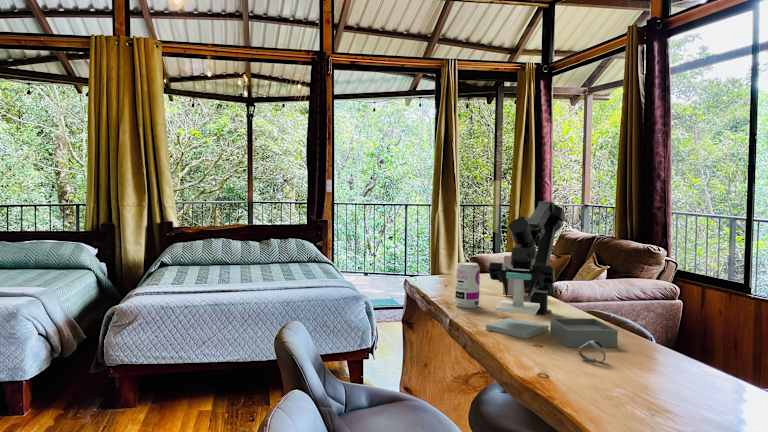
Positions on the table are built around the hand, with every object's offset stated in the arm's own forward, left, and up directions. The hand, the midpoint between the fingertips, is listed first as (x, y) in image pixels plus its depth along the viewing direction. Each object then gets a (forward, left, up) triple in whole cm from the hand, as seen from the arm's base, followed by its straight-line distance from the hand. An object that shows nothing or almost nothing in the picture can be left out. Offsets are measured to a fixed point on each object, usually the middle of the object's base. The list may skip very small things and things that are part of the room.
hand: (517, 296), depth 154 cm
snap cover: (-1, 0, -4) cm, 4 cm away
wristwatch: (+12, +27, -10) cm, 31 cm away
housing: (-4, +18, -10) cm, 21 cm away
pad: (-1, 0, -10) cm, 10 cm away
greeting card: (-48, -27, -10) cm, 56 cm away
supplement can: (-18, -29, -10) cm, 36 cm away
